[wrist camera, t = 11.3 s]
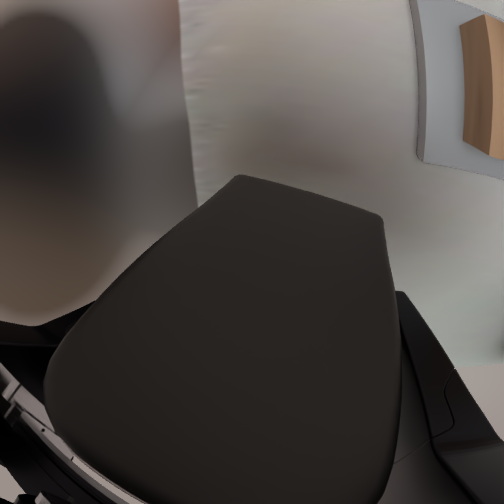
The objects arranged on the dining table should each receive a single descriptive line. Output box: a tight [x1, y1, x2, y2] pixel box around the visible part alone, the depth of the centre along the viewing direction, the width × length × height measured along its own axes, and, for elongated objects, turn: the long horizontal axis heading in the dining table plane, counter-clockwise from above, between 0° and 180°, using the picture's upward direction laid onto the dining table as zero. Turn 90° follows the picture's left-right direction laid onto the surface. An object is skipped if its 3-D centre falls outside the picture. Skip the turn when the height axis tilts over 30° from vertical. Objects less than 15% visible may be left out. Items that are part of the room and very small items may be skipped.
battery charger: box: [43, 175, 402, 504], centre depth 8 cm, size 7×4×11 cm, turn 81°
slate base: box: [409, 0, 504, 180], centre depth 10 cm, size 12×12×2 cm
